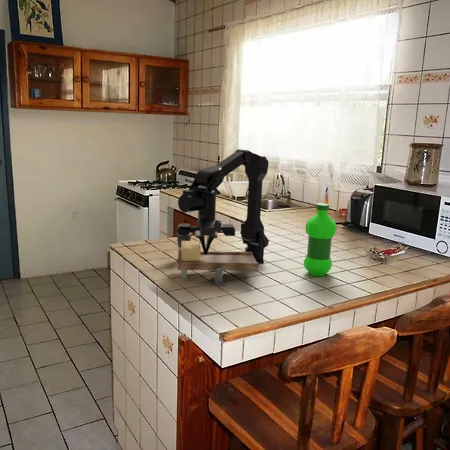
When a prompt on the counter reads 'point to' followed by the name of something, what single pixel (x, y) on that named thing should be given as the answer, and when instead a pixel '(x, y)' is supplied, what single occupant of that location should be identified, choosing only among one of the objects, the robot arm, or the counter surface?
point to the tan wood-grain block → (190, 251)
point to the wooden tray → (220, 261)
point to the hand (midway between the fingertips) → (205, 254)
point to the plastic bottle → (319, 241)
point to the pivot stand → (217, 281)
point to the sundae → (183, 238)
